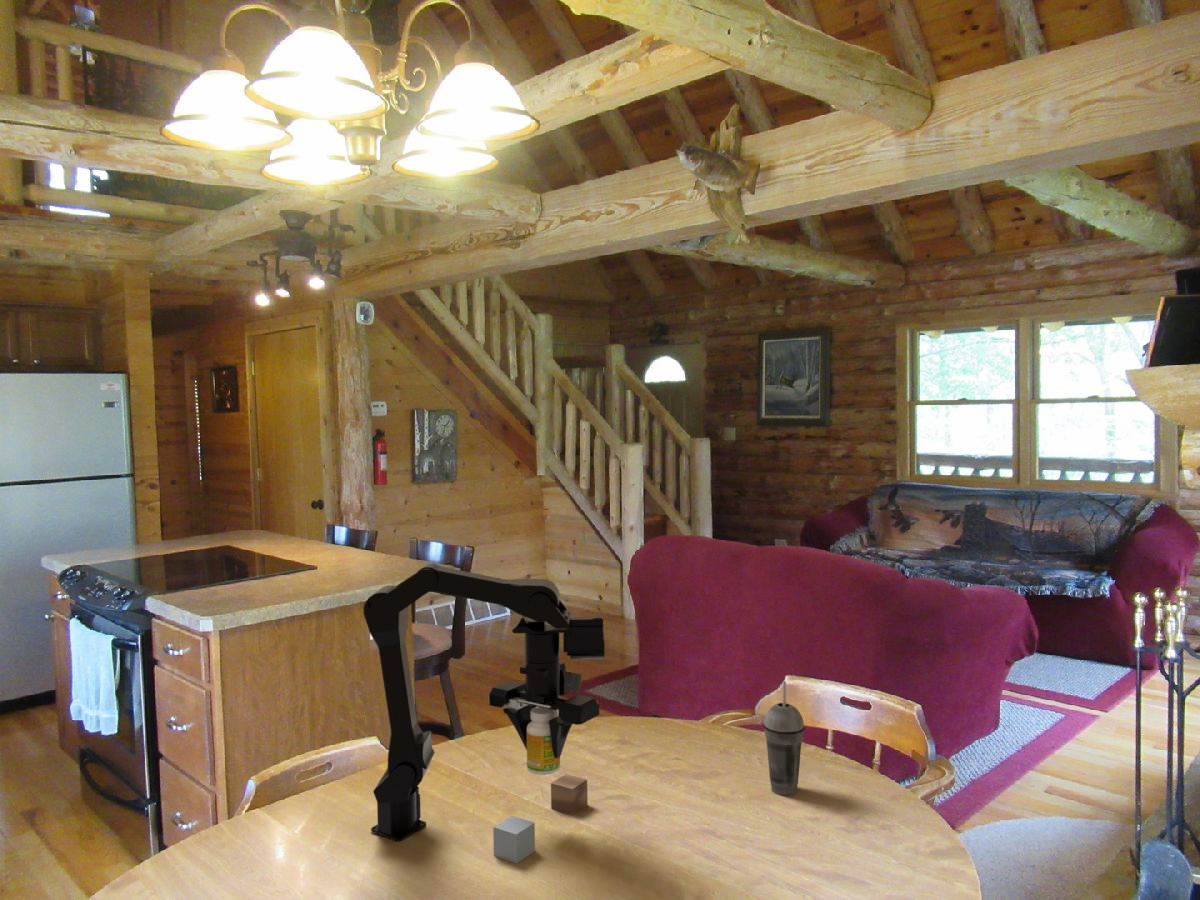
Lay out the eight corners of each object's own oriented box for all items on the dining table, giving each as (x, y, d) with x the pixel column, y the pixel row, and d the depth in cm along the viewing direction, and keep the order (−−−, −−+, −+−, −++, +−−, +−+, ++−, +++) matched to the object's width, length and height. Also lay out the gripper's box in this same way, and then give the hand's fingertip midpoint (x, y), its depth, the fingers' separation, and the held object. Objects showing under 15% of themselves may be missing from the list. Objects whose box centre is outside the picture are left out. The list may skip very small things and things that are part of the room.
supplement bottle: (545, 778, 136) (544, 718, 135) (520, 770, 139) (519, 711, 139) (566, 767, 140) (566, 708, 140) (541, 760, 143) (541, 702, 143)
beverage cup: (802, 782, 156) (801, 673, 156) (807, 799, 149) (807, 686, 148) (761, 781, 157) (761, 673, 156) (765, 798, 150) (764, 685, 149)
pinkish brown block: (572, 815, 144) (572, 788, 144) (551, 809, 147) (550, 783, 147) (587, 805, 148) (587, 779, 148) (566, 799, 151) (566, 773, 150)
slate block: (516, 863, 129) (516, 834, 129) (493, 855, 131) (493, 827, 131) (535, 851, 132) (534, 822, 132) (512, 843, 135) (511, 815, 135)
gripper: (617, 655, 141) (618, 749, 141) (527, 640, 151) (528, 728, 151) (578, 672, 131) (579, 772, 132) (485, 655, 142) (487, 748, 142)
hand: (543, 753), depth 139 cm, fingers closed on supplement bottle, 5 cm apart
